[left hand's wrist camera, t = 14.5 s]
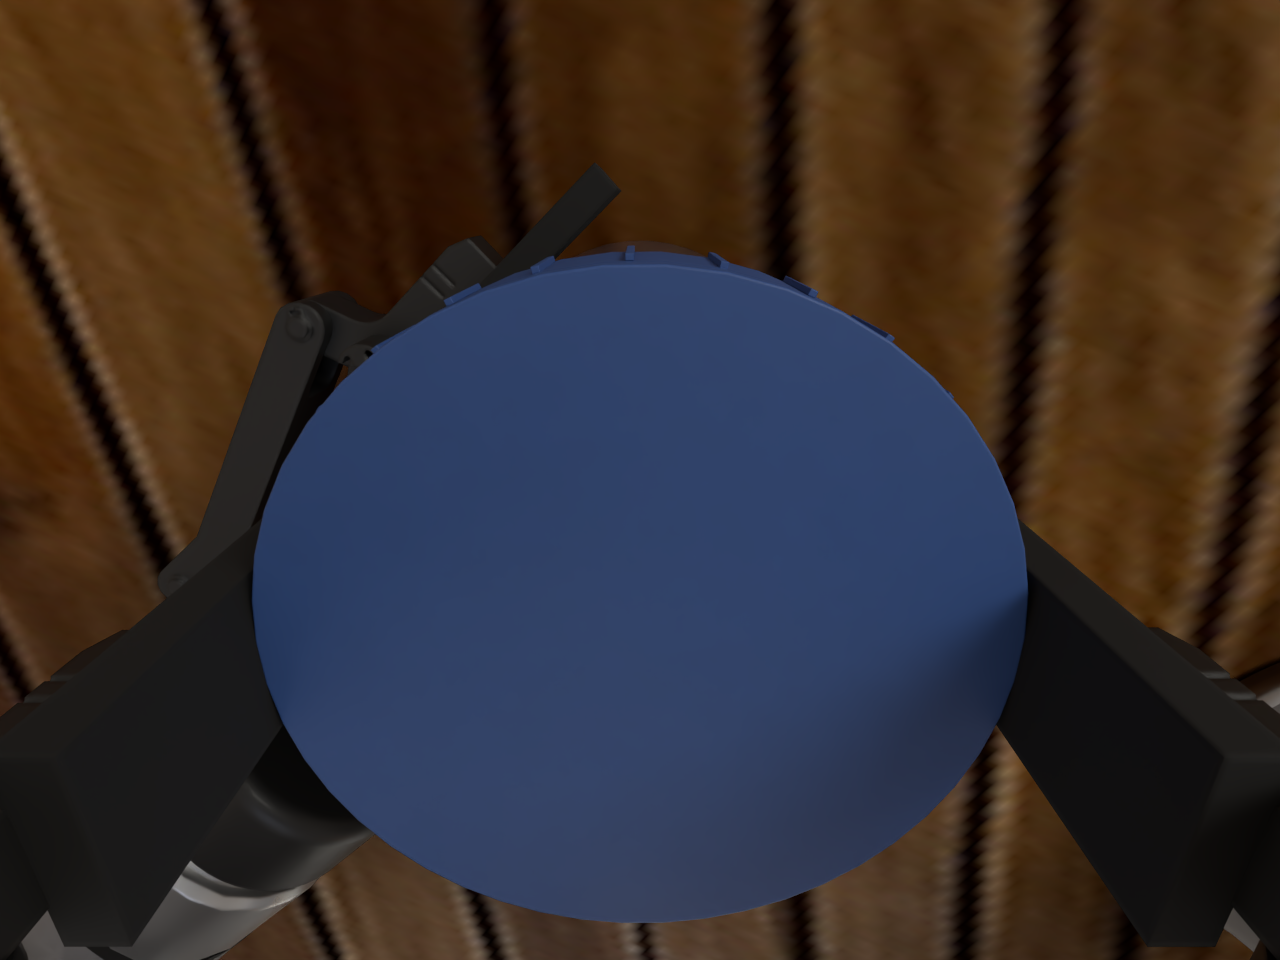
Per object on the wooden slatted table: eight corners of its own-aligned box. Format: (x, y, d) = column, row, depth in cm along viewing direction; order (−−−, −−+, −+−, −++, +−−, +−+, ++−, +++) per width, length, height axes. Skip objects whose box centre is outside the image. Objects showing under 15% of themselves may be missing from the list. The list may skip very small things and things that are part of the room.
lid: (1009, 736, 14) (1076, 835, 12) (478, 873, 15) (452, 983, 13) (891, 128, 10) (963, 107, 8) (184, 392, 11) (76, 438, 9)
